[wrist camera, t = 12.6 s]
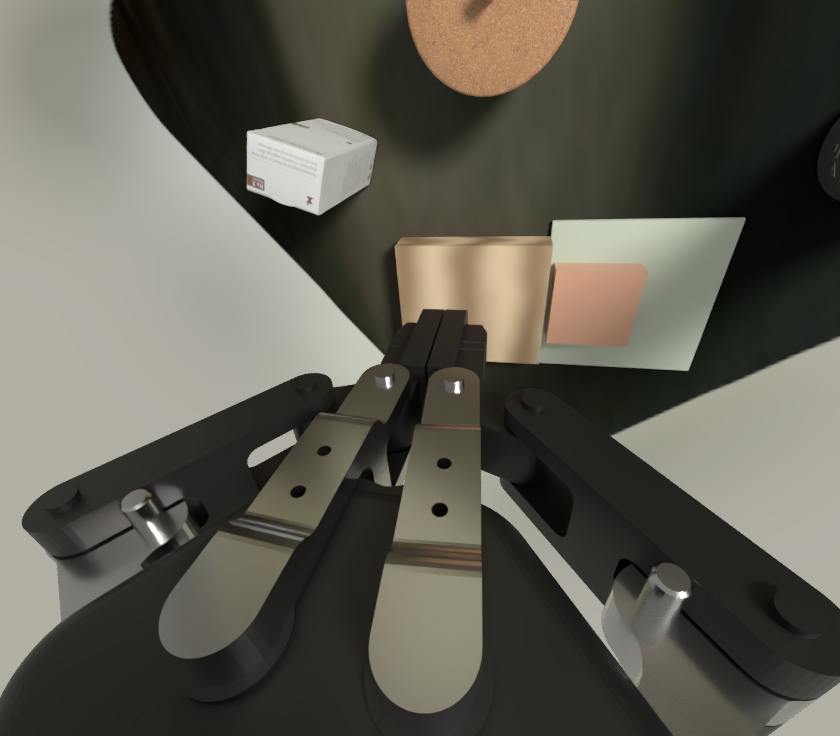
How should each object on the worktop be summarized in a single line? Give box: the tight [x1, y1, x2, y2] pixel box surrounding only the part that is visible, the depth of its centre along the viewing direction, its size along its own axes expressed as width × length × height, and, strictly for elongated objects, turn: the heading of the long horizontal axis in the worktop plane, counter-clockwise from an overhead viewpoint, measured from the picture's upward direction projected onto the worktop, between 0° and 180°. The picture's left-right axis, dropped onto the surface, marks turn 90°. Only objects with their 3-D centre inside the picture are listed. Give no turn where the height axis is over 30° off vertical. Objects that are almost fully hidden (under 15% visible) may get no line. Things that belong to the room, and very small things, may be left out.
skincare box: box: [247, 119, 377, 215], centre depth 33 cm, size 6×4×12 cm
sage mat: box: [539, 217, 746, 371], centre depth 41 cm, size 16×16×1 cm
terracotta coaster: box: [545, 263, 647, 347], centre depth 40 cm, size 8×8×2 cm
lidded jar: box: [406, 0, 579, 97], centre depth 27 cm, size 11×11×9 cm
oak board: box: [395, 236, 553, 364], centre depth 43 cm, size 15×13×3 cm
